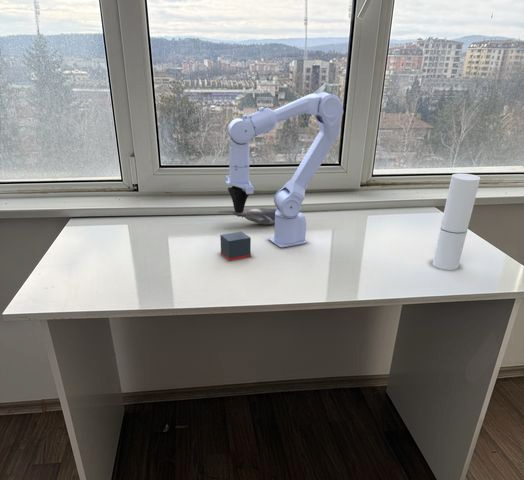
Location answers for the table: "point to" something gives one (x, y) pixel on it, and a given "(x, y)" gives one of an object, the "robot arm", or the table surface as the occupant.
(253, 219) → the decorative bird
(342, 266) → the table surface
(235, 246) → the two-tone lidded box
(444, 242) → the cylindrical container
